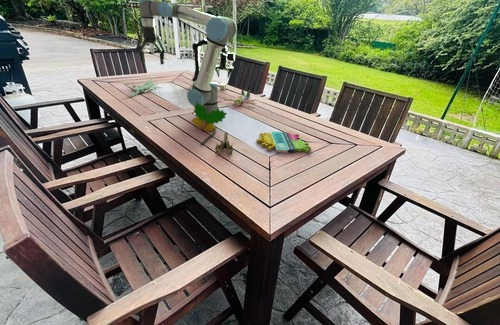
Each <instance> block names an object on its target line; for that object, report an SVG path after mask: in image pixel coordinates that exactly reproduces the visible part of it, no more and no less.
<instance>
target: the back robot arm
mask: <svg viewBox="0 0 500 325" xmlns="http://www.w3.org/2000/svg"><path fill="white" fill-rule="evenodd" d="M207 44H208V42H207V40H206V38H202V39H201V40H199V41H196V42H193V43H192V45H191V47H192V51H193V54H194V69H195V70H194V74H193V75H194V76H193V77H192V78H191V81H192V83H193V82H194V81H196V80H197V77H198V74H199V71H200V67H201V62H200V61H201V60H200V59H201V58H200V51H201V47H203V46H204V45H206V46H207ZM219 58H220V61H219V64H217V65H216V68H215V72H216V74H217V77H218V78H220V70H222V71H224V70H226V71H227V79H229V77H230V75H231V73H232V72H233V71H235V68H234V66H229V67H228V66H227V64H228V61H229V62H235V60H236V54H235V53H234V52H230V51H229V50H228V47H227V46H226V47H225V48H222V50H221V53H220V56H219Z"/></svg>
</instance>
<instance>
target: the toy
mask: <svg viewBox="0 0 500 325" xmlns="http://www.w3.org/2000/svg"><path fill="white" fill-rule="evenodd" d="M240 92H241V93H240V95H238V96H237V97H235V99H233V98H230V99H228V98H227V97H226V96H225V97H224V98H223V101H224V102H233V103H232V104H233V105H235V106H242V103H243V104H247V105H252V106H255V105H256V104H257V103H256V102H254V101H253V100H252V101H251V102H250V101H248V100H246V99H248V98H250V97H251V90H250V89H249V90H248V91H247V92H246V93H245V91H244V89H242V90H241V91H240Z"/></svg>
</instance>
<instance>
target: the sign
mask: <svg viewBox="0 0 500 325" xmlns="http://www.w3.org/2000/svg"><path fill="white" fill-rule="evenodd" d="M299 136H300V135H299V134H298V133H296V134H294V133H291V132H287V131H270V132H264V133H263V132H260V133H259V139H258V138H257V139H256V143H257V144H261V148H263V147H264V148H265V149H267V151H268V152H271V151H272V150H273V149H275V152H276V153H283V154H285V153H287V154H288V153H290V154H293V153H296V152H298V153H301V152H305V153H310V151H311V150H312V149H311V148H312V146H309V142H304V141H303V139H302V138H299Z"/></svg>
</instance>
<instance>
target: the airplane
mask: <svg viewBox="0 0 500 325" xmlns="http://www.w3.org/2000/svg"><path fill="white" fill-rule="evenodd" d="M153 78H154V75H153V74H151V76H150V78H149V80H148V81H147V82H146V81H144V82H143V85H142V84H134V83H129V84H128V85H130V86H132V87H131V89H133V91H132V92H131V93H130V94H129V95H128V96H127V98H129V97H130V98H131V97H135V96H137V95H139V94H141V93H148V92H150V91H151V90H152V92H154V91H156V90H157V89H163V88H164V87H162V86H157V85H158V83H154V82H153ZM155 85H156V86H155Z"/></svg>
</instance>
